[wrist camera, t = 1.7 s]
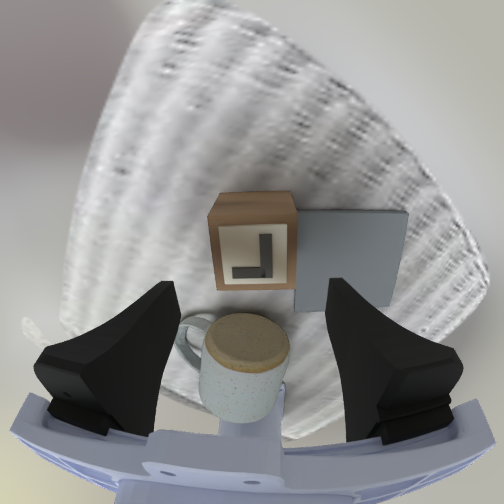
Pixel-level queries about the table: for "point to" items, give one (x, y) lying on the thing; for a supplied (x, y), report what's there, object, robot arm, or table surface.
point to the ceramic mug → (237, 364)
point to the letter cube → (254, 240)
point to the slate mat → (348, 254)
